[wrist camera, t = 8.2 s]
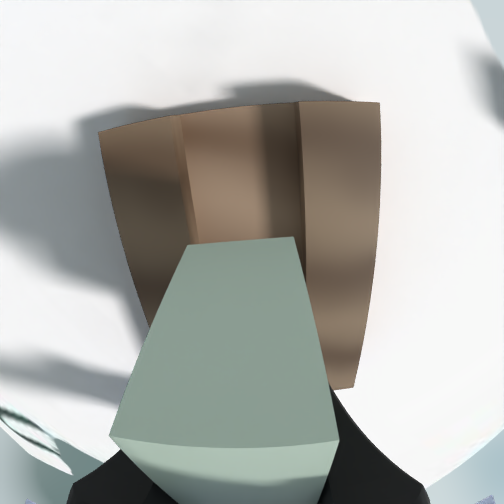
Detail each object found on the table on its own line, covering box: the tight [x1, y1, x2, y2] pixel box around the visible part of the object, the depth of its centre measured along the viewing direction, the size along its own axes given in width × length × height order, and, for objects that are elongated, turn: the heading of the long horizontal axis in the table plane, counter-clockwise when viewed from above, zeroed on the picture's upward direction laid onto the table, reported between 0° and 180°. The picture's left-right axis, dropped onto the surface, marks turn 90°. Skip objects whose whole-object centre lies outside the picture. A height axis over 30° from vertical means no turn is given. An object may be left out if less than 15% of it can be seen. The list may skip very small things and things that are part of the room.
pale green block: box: [109, 237, 339, 504], centre depth 10 cm, size 10×4×8 cm, turn 5°
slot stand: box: [98, 101, 381, 390], centre depth 19 cm, size 20×14×4 cm
